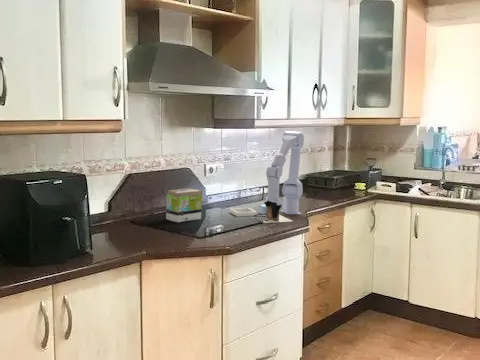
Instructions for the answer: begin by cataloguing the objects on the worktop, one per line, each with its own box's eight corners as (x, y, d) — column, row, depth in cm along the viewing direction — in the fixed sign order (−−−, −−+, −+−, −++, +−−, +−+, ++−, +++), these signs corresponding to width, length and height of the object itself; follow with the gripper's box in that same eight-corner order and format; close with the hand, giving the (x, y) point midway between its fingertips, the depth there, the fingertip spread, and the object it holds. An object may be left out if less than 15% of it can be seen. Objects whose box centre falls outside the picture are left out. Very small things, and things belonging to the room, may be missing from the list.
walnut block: (265, 217, 288) (266, 206, 288) (274, 217, 290) (275, 205, 289) (270, 219, 284) (270, 208, 283) (279, 219, 286) (279, 207, 285)
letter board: (251, 217, 292) (251, 216, 291) (279, 215, 297) (279, 214, 297) (264, 223, 277) (264, 222, 277) (293, 222, 283) (293, 221, 283)
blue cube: (259, 213, 301) (259, 204, 301) (267, 213, 303) (268, 204, 302) (262, 215, 297) (263, 206, 296) (271, 215, 298) (271, 206, 298)
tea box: (178, 223, 273) (179, 193, 271) (165, 219, 280) (166, 190, 278) (201, 219, 284) (202, 190, 282) (188, 215, 291) (189, 187, 289)
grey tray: (229, 213, 300) (229, 208, 300) (248, 212, 304) (248, 207, 304) (237, 217, 290) (237, 212, 290) (256, 216, 294) (256, 211, 294)
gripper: (260, 188, 290) (259, 214, 292) (272, 192, 277) (271, 219, 279) (272, 187, 293) (271, 213, 295) (285, 192, 280) (284, 219, 281)
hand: (272, 216), depth 287 cm, fingers open, 5 cm apart
